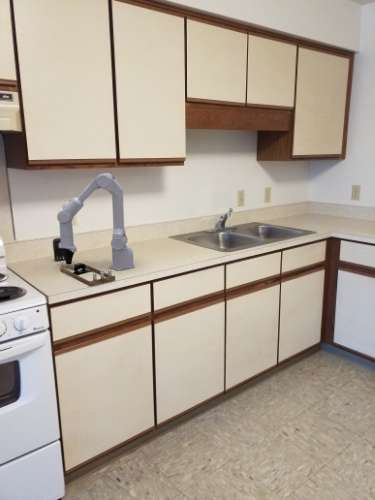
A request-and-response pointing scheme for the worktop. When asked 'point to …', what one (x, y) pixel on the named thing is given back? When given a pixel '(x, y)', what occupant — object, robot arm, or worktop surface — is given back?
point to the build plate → (80, 266)
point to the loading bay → (95, 280)
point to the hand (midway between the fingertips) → (68, 264)
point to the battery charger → (57, 250)
